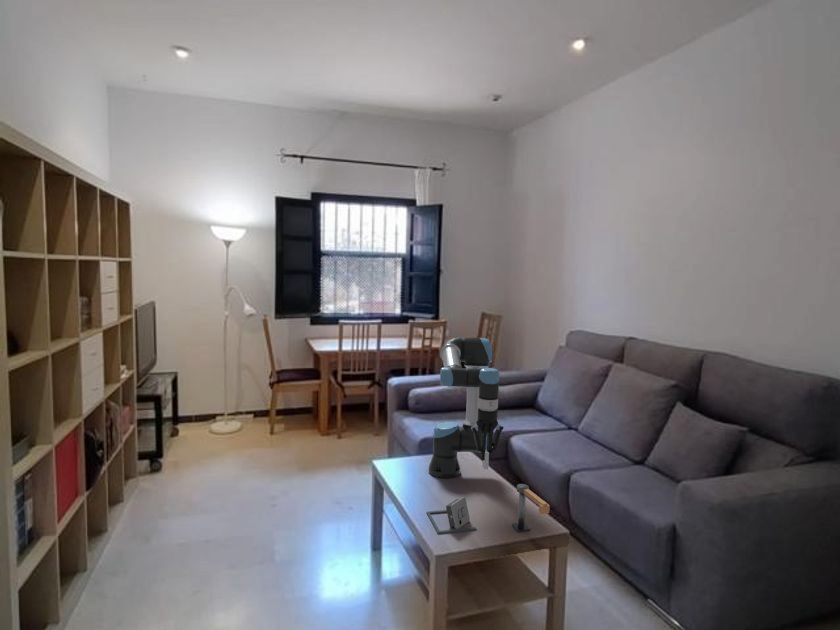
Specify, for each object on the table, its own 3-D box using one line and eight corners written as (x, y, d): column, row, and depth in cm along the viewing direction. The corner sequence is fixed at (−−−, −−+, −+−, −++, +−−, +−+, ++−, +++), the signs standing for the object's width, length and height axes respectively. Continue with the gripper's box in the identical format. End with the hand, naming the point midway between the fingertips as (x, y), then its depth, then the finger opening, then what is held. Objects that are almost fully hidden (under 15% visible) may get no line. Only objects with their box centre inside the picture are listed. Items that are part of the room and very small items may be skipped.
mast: (511, 525, 189) (513, 489, 188) (524, 524, 190) (525, 488, 189) (517, 532, 184) (519, 495, 183) (530, 531, 185) (531, 494, 184)
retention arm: (514, 493, 187) (514, 484, 187) (524, 492, 189) (524, 483, 189) (539, 514, 171) (540, 504, 171) (550, 512, 173) (551, 503, 173)
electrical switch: (457, 531, 184) (456, 506, 184) (445, 527, 187) (444, 503, 187) (470, 521, 191) (469, 497, 191) (458, 518, 194) (457, 494, 194)
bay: (426, 513, 197) (426, 511, 197) (462, 509, 200) (462, 508, 200) (437, 533, 181) (437, 532, 181) (476, 530, 185) (476, 528, 185)
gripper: (475, 412, 186) (472, 472, 189) (507, 410, 189) (504, 470, 192) (468, 406, 194) (466, 465, 196) (499, 405, 197) (497, 463, 199)
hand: (485, 467), depth 194 cm, fingers closed
